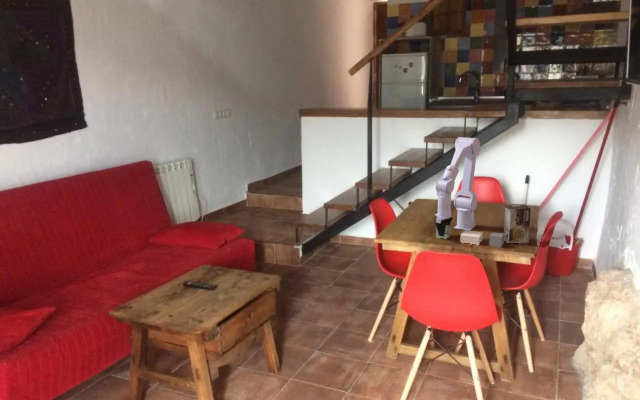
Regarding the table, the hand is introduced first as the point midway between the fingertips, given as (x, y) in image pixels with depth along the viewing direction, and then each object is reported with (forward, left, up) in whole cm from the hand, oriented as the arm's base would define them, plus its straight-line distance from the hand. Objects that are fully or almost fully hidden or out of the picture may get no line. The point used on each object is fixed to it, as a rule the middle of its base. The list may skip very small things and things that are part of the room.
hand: (443, 234), depth 233 cm
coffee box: (-9, +30, -2) cm, 31 cm away
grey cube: (0, +24, -2) cm, 24 cm away
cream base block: (0, +13, -2) cm, 13 cm away
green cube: (0, 0, -1) cm, 1 cm away
